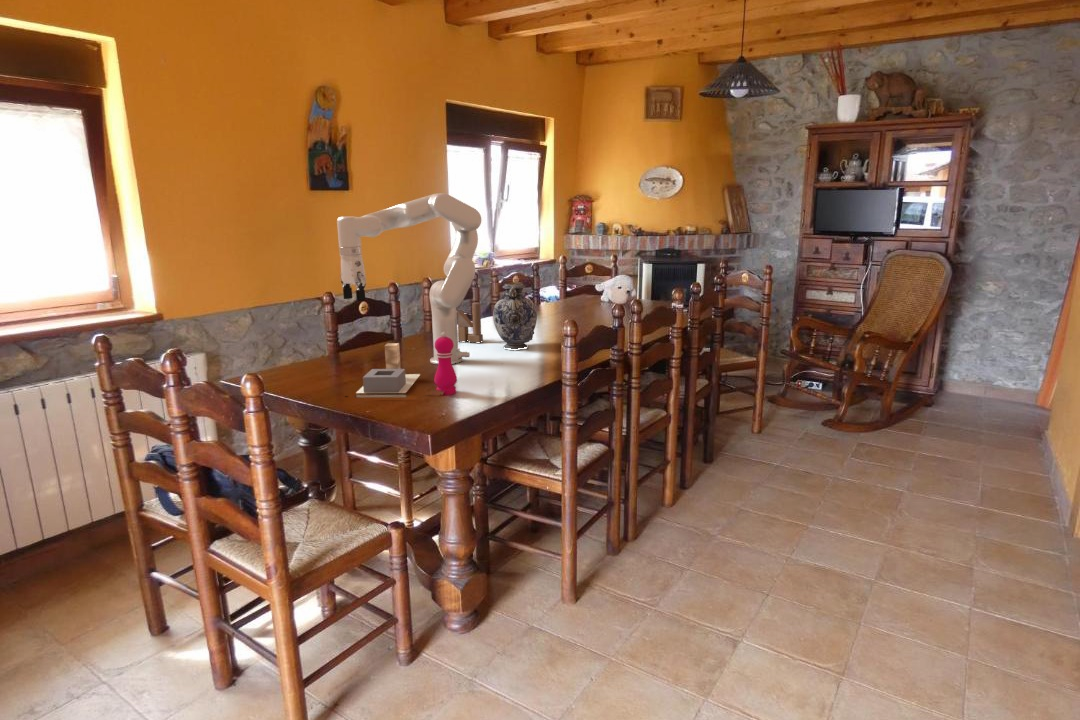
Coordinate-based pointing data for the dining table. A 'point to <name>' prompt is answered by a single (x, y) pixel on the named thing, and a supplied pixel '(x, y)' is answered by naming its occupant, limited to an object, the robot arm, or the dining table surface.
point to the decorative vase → (515, 316)
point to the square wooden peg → (392, 356)
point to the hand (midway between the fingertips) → (354, 299)
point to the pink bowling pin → (445, 366)
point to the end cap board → (386, 382)
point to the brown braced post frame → (470, 325)
